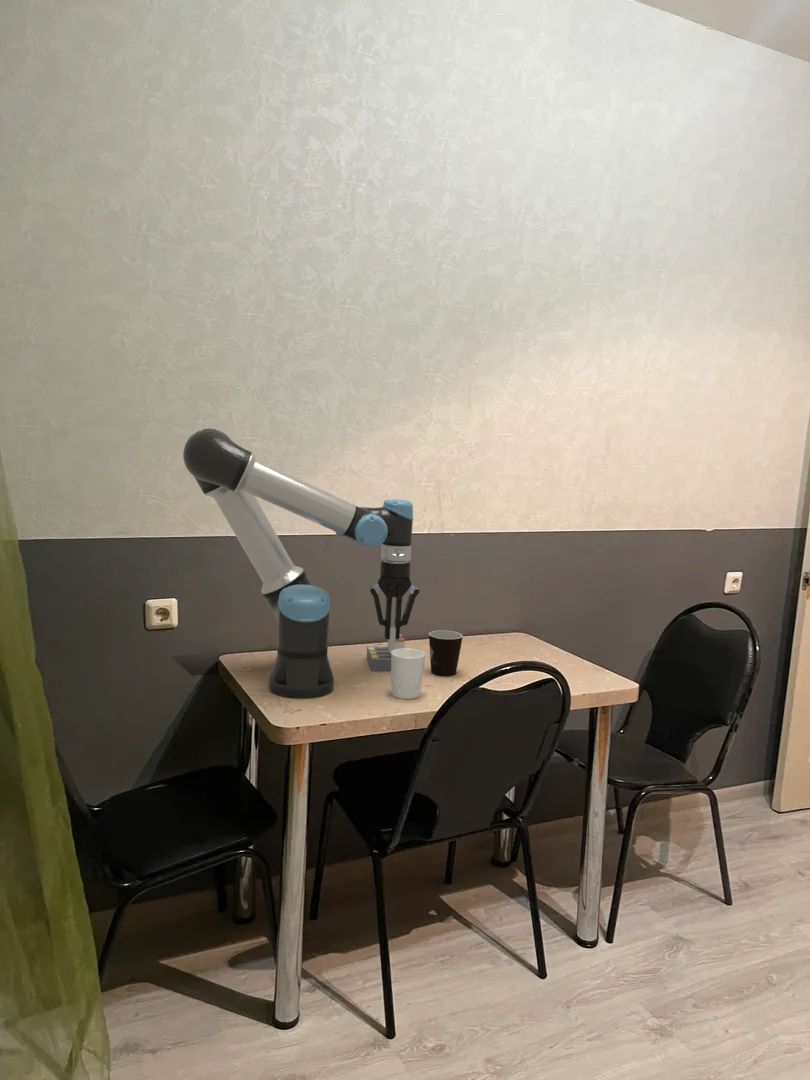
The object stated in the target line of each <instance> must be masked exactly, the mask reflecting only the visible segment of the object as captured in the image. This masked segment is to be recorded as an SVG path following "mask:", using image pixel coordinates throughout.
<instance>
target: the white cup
mask: <svg viewBox="0 0 810 1080" xmlns="http://www.w3.org/2000/svg"><path fill="white" fill-rule="evenodd" d="M425 656H426V653H425V652H424V651H423V650H419V649H415V648H406V647H404V649H396V650H393V651H392V652H391V671H390V683H391V687H390V688H391V695H392V696H393V697H394V698H398V699H403V700H414V699H417V698H419V697H421V689H422V685H423V676H424V668H425V667H424V666H425Z"/></svg>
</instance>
